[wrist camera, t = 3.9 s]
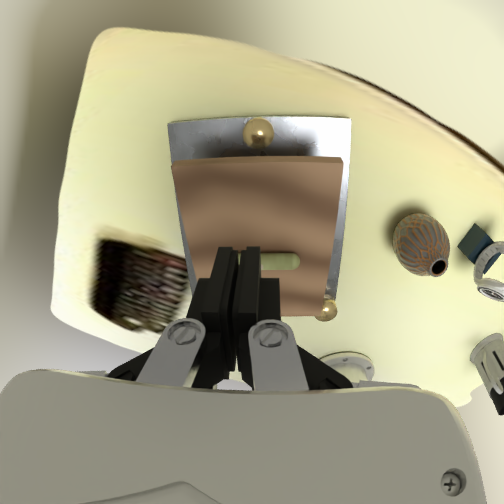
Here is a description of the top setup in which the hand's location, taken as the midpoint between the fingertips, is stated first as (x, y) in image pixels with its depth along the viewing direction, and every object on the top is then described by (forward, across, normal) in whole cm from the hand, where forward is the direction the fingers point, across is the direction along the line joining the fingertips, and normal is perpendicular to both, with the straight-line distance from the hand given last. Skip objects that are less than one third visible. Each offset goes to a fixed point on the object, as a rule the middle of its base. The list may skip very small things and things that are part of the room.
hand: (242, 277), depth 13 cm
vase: (+23, -19, +9) cm, 31 cm away
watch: (+23, -31, +11) cm, 40 cm away
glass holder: (+23, -44, +34) cm, 60 cm away
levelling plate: (+17, 0, +8) cm, 19 cm away
